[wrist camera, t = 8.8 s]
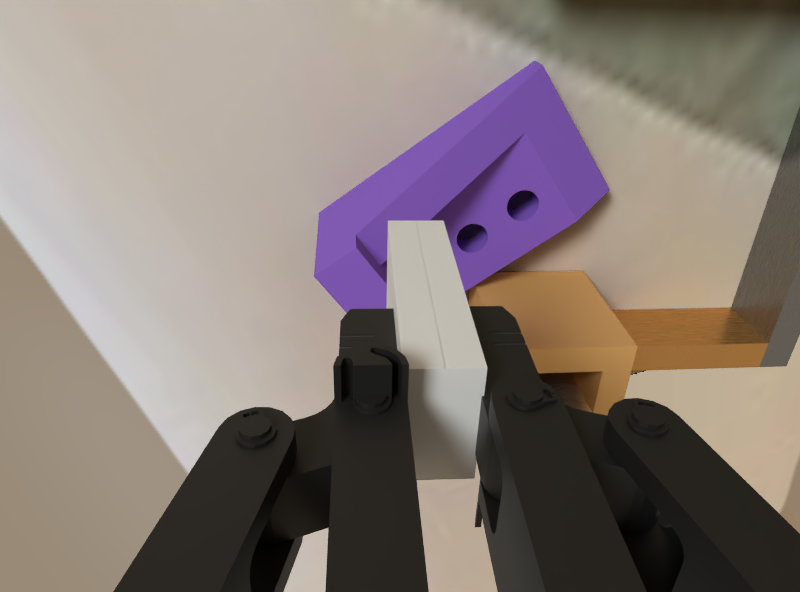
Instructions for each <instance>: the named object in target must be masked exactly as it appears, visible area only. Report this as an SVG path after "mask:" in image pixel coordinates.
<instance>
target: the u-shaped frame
mask: <svg viewBox="0 0 800 592" xmlns="http://www.w3.org/2000/svg"><path fill="white" fill-rule="evenodd" d="M612 311H613V313H614V314H615V316H616V317H617V318H618V320H619V321H620V323H621V324H622V325H623V327H624V328H625V329H626V331H627V332H628V334H629V335H630V336H631V338H632V339H633V340H634V342H635V343H636V345H637V346H638V347H637V351H636V355H635V359H634V362H633V366H632V370H631V371H638V370H671V369H705V368H739V367H773V366H787V363H788V361H789V359H790V356H791V354H792V351H793V349H794V347H795V344H796V342H797V339H798V337H799V335H800V109H799V112H798V114H797V117H796V120H795V123H794V126H793V129H792V132H791V135H790V138H789V141H788V144H787V147H786V150H785V152H784V155H783V158H782V161H781V164H780V167H779V170H778V173H777V176H776V179H775V182H774V185H773V188H772V190H771V193H770V196H769V199H768V202H767V205H766V208H765V211H764V214H763V217H762V220H761V223H760V226H759V228H758V231H757V234H756V237H755V240H754V243H753V246H752V249H751V252H750V255H749V258H748V261H747V264H746V266H745V269H744V272H743V275H742V278H741V281H740V284H739V287H738V290H737V293H736V296H735V299H734V302H733V304H732V307H731V308H706V309H659V310H612Z"/></svg>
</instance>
